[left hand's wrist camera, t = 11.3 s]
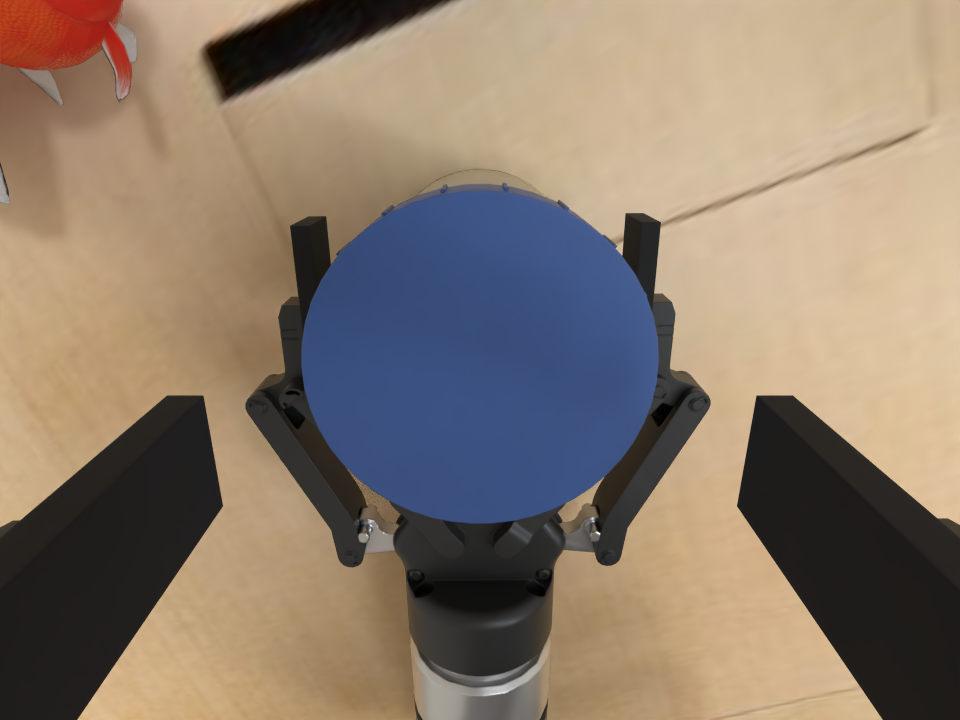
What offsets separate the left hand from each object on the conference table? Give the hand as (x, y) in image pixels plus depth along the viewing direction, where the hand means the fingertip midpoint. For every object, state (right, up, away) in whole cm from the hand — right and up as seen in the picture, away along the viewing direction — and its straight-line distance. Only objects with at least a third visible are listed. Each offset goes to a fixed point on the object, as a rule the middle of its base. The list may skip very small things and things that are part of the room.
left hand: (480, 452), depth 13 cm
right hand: (0, +8, +12) cm, 14 cm away
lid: (0, +2, +4) cm, 5 cm away
